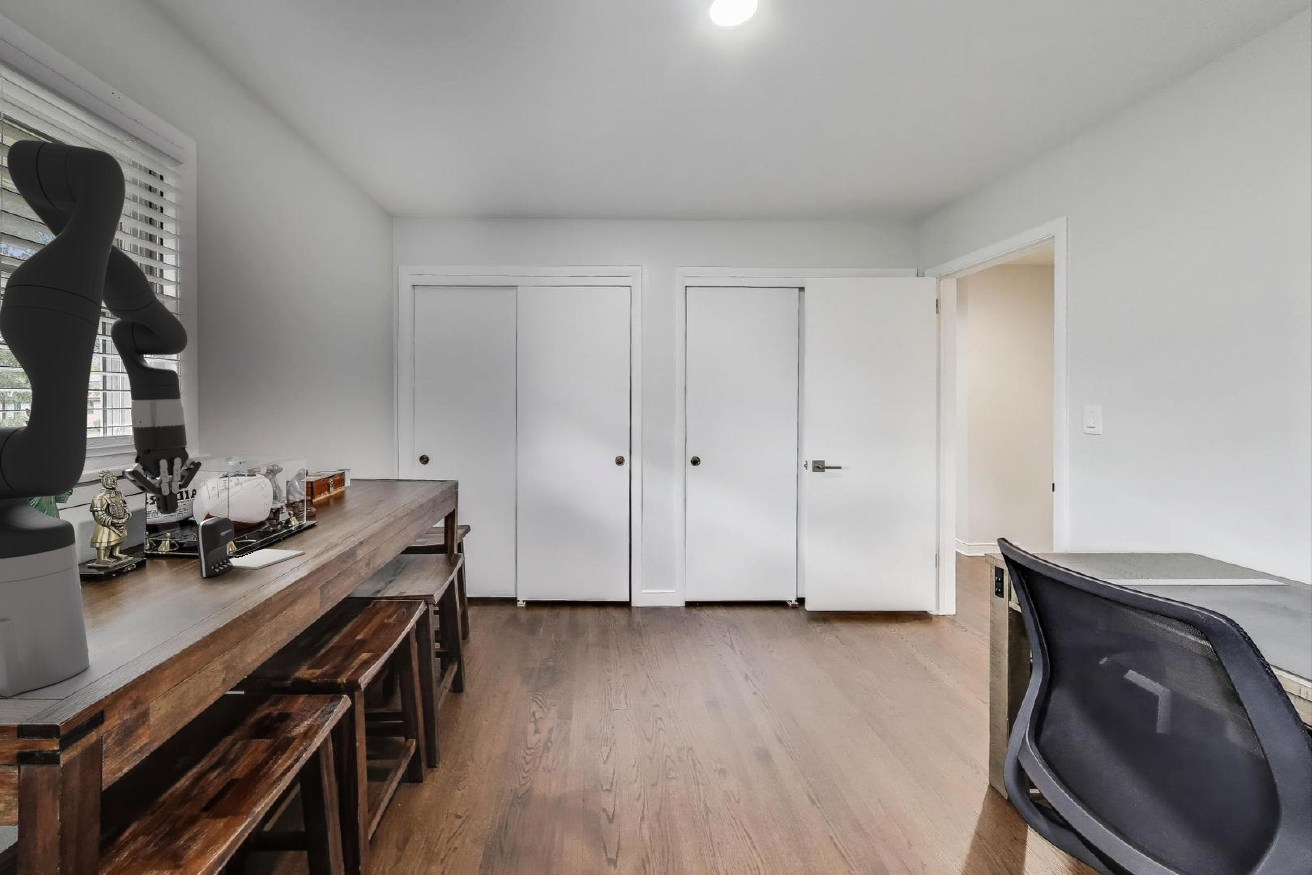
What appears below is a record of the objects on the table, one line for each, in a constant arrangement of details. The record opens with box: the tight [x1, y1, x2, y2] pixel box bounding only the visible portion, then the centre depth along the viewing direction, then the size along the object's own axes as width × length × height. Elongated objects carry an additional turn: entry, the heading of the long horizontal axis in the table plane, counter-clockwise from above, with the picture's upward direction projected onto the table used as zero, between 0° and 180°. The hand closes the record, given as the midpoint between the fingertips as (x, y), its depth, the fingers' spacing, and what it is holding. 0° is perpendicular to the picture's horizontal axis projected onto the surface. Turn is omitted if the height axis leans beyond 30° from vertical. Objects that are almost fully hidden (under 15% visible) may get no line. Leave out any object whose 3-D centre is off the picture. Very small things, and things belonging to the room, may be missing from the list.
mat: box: [229, 548, 306, 570], centre depth 128 cm, size 12×12×1 cm
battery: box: [195, 516, 235, 578], centre depth 118 cm, size 7×4×11 cm, turn 8°
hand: (168, 513), depth 109 cm, fingers closed
